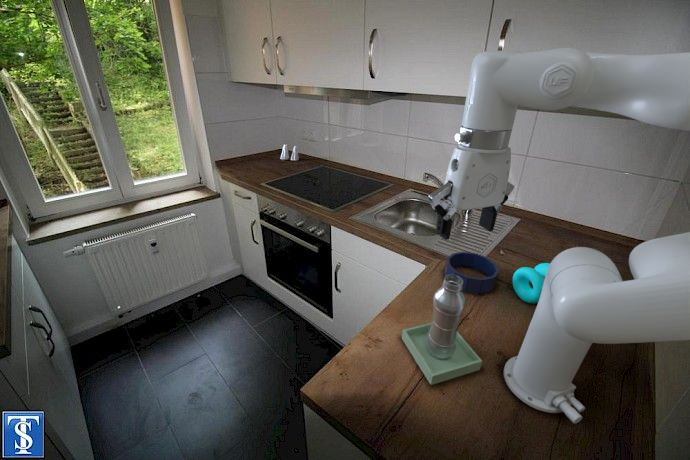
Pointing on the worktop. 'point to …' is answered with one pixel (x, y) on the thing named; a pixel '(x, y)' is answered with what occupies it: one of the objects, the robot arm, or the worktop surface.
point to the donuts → (537, 280)
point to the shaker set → (286, 155)
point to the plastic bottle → (446, 317)
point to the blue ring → (476, 262)
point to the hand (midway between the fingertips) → (464, 232)
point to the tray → (436, 367)
